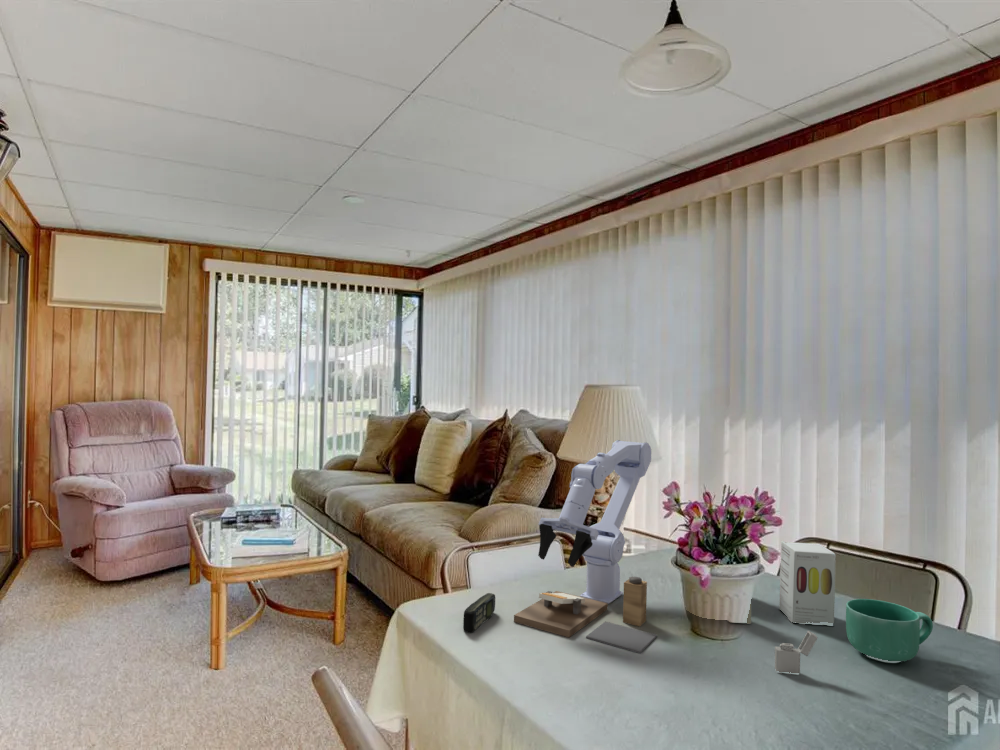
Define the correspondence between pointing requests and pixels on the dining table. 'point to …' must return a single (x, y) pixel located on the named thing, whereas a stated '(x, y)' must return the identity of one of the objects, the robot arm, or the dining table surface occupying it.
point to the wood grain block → (634, 601)
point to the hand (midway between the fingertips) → (555, 561)
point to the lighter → (793, 654)
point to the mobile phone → (478, 612)
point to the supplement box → (807, 582)
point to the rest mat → (622, 636)
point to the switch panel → (561, 615)
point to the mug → (885, 629)
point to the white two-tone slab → (560, 597)
